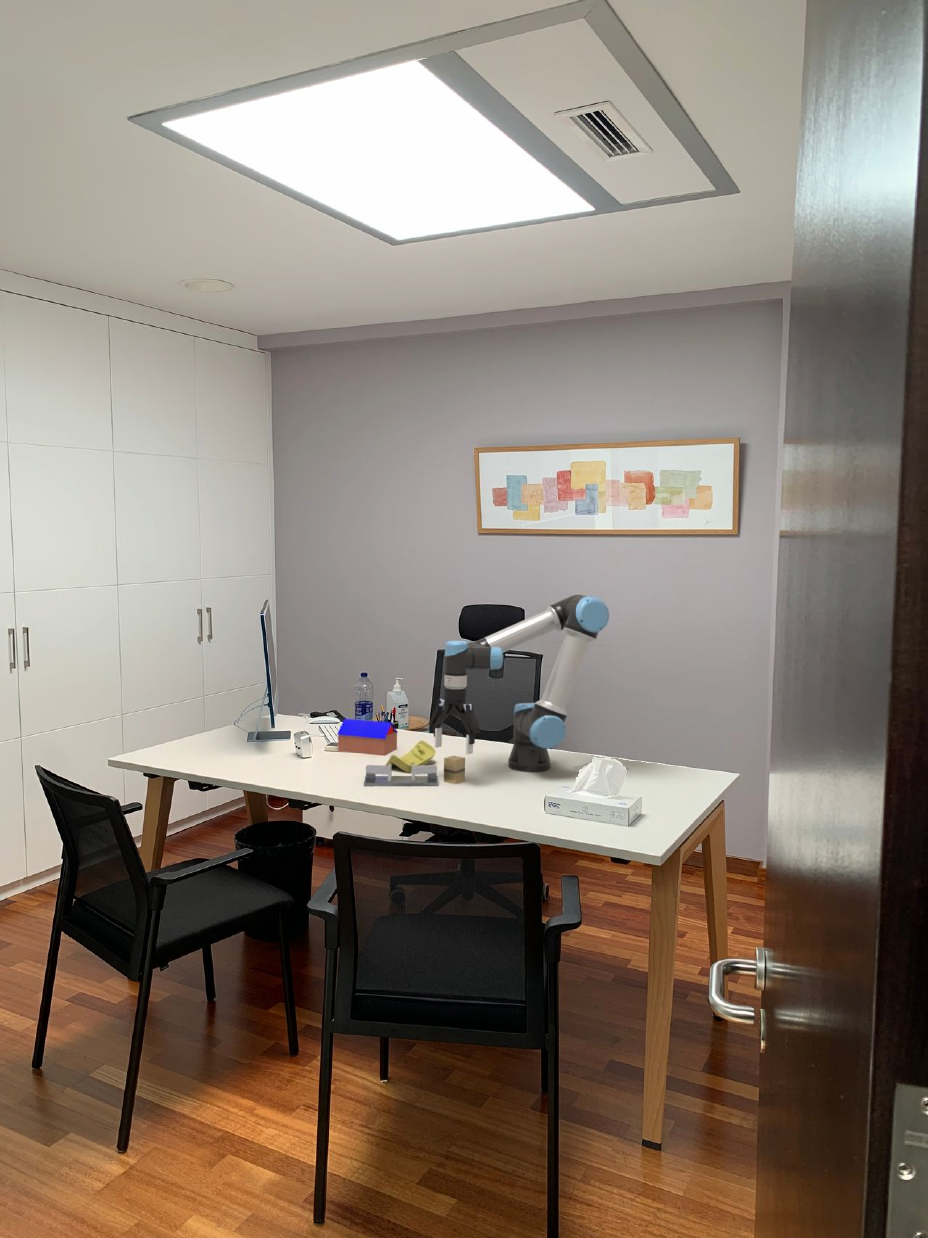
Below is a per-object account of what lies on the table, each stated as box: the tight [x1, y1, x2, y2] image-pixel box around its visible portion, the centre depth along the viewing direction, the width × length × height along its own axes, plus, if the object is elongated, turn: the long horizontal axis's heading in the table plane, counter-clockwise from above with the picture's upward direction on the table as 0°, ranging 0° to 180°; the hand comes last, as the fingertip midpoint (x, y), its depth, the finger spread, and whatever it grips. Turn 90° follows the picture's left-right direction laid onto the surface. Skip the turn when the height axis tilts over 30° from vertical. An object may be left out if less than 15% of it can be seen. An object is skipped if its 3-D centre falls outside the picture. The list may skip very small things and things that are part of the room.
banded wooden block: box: [443, 755, 466, 785], centre depth 305 cm, size 5×5×8 cm
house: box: [337, 718, 399, 757], centre depth 349 cm, size 12×20×12 cm, turn 70°
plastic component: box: [384, 740, 437, 774], centre depth 326 cm, size 20×7×10 cm
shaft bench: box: [363, 764, 439, 787], centre depth 303 cm, size 24×9×6 cm, turn 93°
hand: (453, 750), depth 305 cm, fingers open, 13 cm apart
